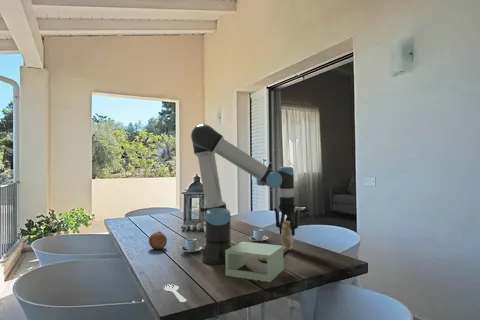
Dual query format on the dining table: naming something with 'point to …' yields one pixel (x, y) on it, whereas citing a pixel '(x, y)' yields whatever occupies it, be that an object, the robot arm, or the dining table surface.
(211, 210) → the robot arm
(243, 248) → the cubby
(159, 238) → the onion
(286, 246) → the tan tall part
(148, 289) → the dining table surface
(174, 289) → the white fork
